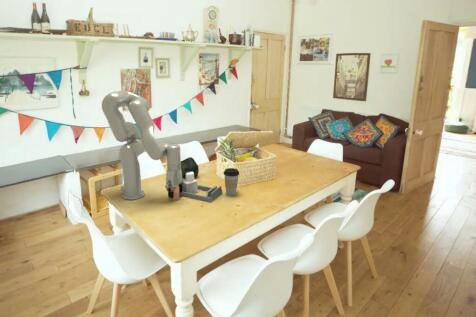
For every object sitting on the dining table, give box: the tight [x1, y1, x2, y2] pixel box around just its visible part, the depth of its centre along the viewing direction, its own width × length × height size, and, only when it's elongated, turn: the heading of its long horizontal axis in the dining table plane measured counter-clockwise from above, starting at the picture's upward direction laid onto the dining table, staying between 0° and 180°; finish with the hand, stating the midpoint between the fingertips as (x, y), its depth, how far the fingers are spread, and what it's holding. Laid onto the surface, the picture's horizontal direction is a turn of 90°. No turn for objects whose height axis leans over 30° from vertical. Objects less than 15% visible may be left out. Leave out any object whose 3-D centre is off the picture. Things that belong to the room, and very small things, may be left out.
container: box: [182, 171, 199, 194], centre depth 193 cm, size 8×8×13 cm
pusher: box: [205, 185, 218, 197], centre depth 188 cm, size 1×11×5 cm, turn 156°
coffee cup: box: [222, 167, 240, 197], centre depth 191 cm, size 9×9×15 cm
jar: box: [169, 185, 181, 202], centre depth 184 cm, size 6×6×9 cm
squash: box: [181, 156, 200, 179], centre depth 216 cm, size 14×15×15 cm
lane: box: [179, 184, 223, 203], centre depth 191 cm, size 26×14×5 cm, turn 66°
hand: (175, 194), depth 184 cm, fingers open, 8 cm apart
